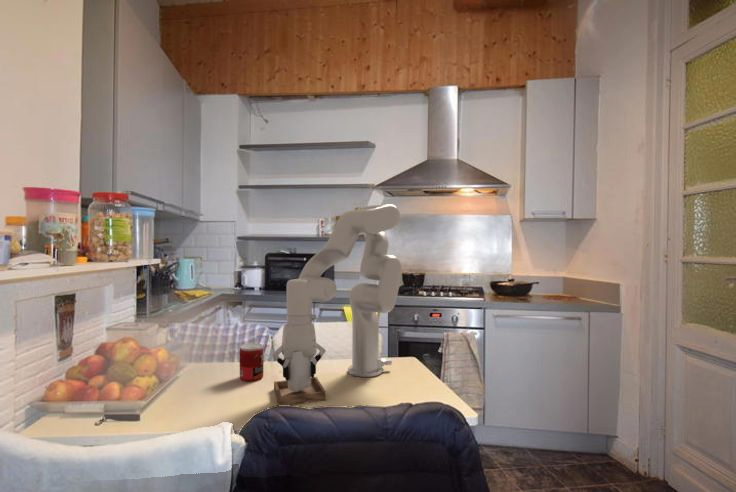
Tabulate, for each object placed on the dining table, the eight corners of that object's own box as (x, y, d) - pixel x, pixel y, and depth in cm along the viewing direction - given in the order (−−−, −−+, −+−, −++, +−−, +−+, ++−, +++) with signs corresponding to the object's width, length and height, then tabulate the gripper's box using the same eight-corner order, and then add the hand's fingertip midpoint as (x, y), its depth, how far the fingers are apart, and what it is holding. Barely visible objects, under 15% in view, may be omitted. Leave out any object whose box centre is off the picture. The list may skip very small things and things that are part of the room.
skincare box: (302, 383, 126) (302, 345, 125) (312, 387, 123) (311, 347, 123) (286, 389, 121) (286, 349, 121) (296, 393, 118) (296, 352, 118)
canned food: (257, 382, 132) (257, 349, 132) (235, 381, 133) (235, 348, 133) (267, 375, 139) (267, 343, 139) (246, 373, 141) (246, 342, 141)
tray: (316, 384, 130) (316, 376, 130) (325, 400, 117) (325, 391, 117) (274, 389, 126) (274, 381, 126) (278, 406, 113) (278, 397, 113)
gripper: (324, 315, 128) (324, 371, 128) (268, 319, 122) (269, 377, 123) (330, 320, 121) (330, 378, 121) (271, 324, 115) (271, 385, 115)
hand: (299, 377), depth 122 cm, fingers closed on skincare box, 7 cm apart
